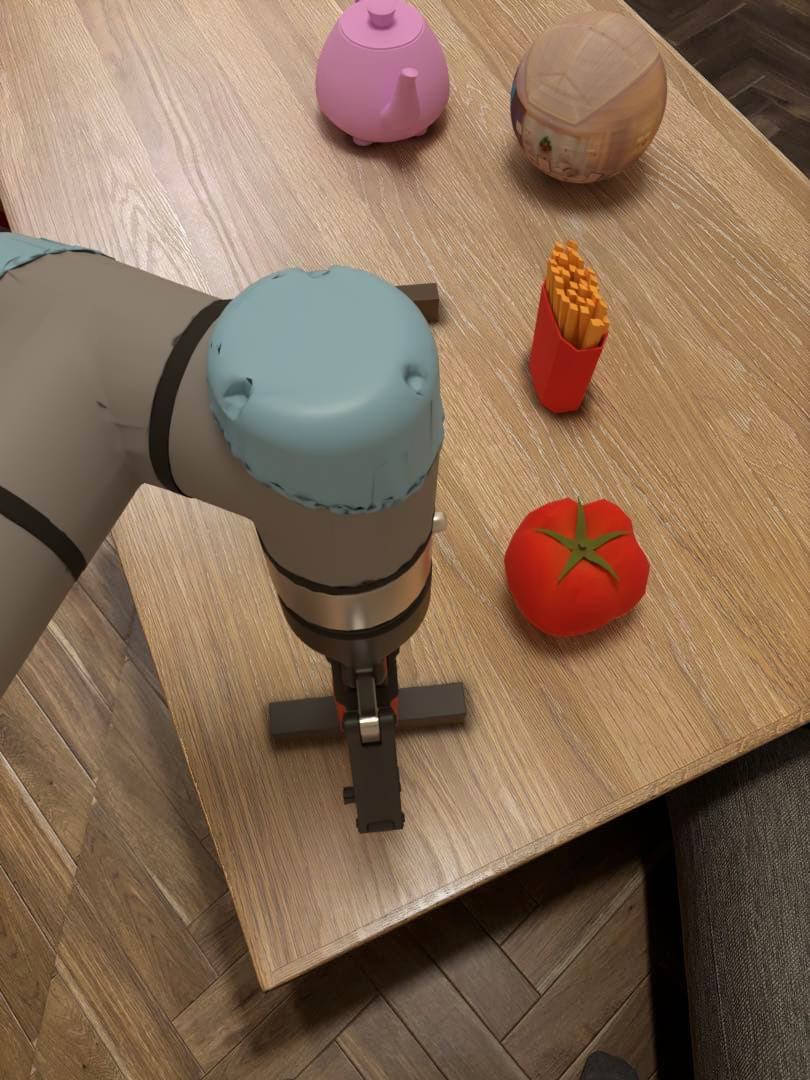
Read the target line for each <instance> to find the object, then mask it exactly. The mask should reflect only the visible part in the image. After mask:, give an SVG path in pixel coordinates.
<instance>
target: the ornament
mask: <svg viewBox="0 0 810 1080" xmlns="http://www.w3.org/2000/svg"><path fill="white" fill-rule="evenodd" d="M511 84H512V85H511V89H510V96H509V97H510V99H509V111H510V120H511V125H512V129H513V134H514V136H515V138H516V141H517V143H518V145H519V147H520V149H521V150H522V152H523V154H524V155H525V156H526V158H527V159H528V160H529V161H530V162H531V163H532V164H533V165H534V166H535V167H536V168H537V169H538V170H540V171H541V172H543V173H544V174H546V175H547V176H549V177H552V178H554V179H557V180H559V181H562V182H565V183H566V182H567V183H570V184H571V183H572V184H590V183H597V182H601V181H604V180H607V179H610V178H612V177H614V176H616V175H618V174H619V175H620V174H621V173H622V172H623V171H624V170H626V169H628V168H629V167H631V166H632V165H633V164H634V163H635V162H636V161H637V160H638V159H639V158H641V157H642V155H643V154H644V153H645V152H646V151H647V149H648V148H649V147H650V145H651V144H652V142H653V140H654V138H655V137H656V135H657V133H658V131H659V129H660V127H661V124H662V121H663V118H664V115H665V111H666V107H667V99H668V80H667V72H666V67H665V63H664V60H663V57H662V55H661V52H660V50H659V48H658V46H657V44H656V43H655V42H654V40H653V39H652V37H651V36H650V35H649V34H648V33H647V31H646V30H645V29H643V28H642V27H641V25H639V24H638V23H637V22H635V21H633V20H632V19H630V18H628V17H626V16H625V15H621V14H619V13H616V12H613V11H609V10H586V11H580V12H576V13H572V14H569V15H568V16H565V17H563V18H561V19H559V20H557V21H555V22H554V23H552V24H551V25H549V26H548V27H546V28H545V29H544V30H543V31H542V32H541V33H540V34H539V35H538V36H537V37H536V38H535V39H533V42H532V43H531V44H530V45H529V47H528V48H527V50H526V51H525V52H524V53H523V56H522V57H521V60H520V61H519V64H518V66H517V68H516V71H515V73H514V77H513V80H512V83H511Z"/></svg>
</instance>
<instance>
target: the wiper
mask: <svg viewBox="0 0 810 1080" xmlns="http://www.w3.org/2000/svg"><path fill="white" fill-rule="evenodd" d="M385 665H386V674H387V663H386V657H385ZM330 669H331V670H332V668H331V667H330ZM331 679H332V680H331V681H332V693H333V695H328V696H318V697H309V698H299V699H290V700H281V701H272V702H269V704H268V707H269V731H270V736H271V738H272V740H273V742H274V743H275V744H281V743H290V742H299V741H308V740H317V739H328V738H335V737H344V736H345V732H344V730H342V725H341V720H343V718H342V716H344V715H343V713H344V712H345V711H346V708H345V706H344V705H341V704H339V703H338V702H337V701H336V699H335V692H334V684H333V676H332V675H331ZM391 707H393V710H394V712H395V714H396V715H397V724H396V727H395V731H399V730H409V729H419V728H426V727H437V726H445V725H454V724H462V723H465V722H466V717H467V713H468V711H467V705H466V699H465V692H464V686H463V682H462V681H459V682H449V683H440V684H431V685H430V684H429V685H422V686H412V687H404V688H403V687H402V688H399V694H398V696H397V697H396V698H395V699H393V700H392V701H391ZM345 737H346V736H345Z"/></svg>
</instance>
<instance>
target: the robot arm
mask: <svg viewBox="0 0 810 1080" xmlns="http://www.w3.org/2000/svg"><path fill="white" fill-rule="evenodd" d="M395 286H396V285H394V284H392V283H390V282H389V281H387V280H386V279H384V278H382V277H380V276H378V275H376V274H373V273H371V272H369V271H366V270H364V269H359V268H355V267H352V266H345V265H340V264H332V265H330V266H329V267H328V269H323V270H321V269H320V270H311V271H309V270H307V271H306V270H303V269H302V268H301V267H300V266H298V267H290V268H289V267H288V268H285V269H281V270H278V271H276V272H272V273H270V274H268V275H266V276H264V277H261V278H260V279H257V281H255V282H252V283H251V284H250V285H248V286H246V287H245V288H244V289H243V290H242V291H241V292H239V293H238V294H237V295H236V296H235V297H234V298H232V299H233V300H225V299H223V298H220V297H218V296H214V295H211V294H210V293H206V292H203V291H200V290H198V289H194V288H193V287H189V286H186V285H184V284H181V283H178V282H176V281H173V280H171V279H167V278H165V277H162V276H159V275H157V274H154V273H152V272H149V271H147V270H143V269H141V268H138V267H135V266H132V265H130V264H127V263H125V262H122V261H119V260H117V259H115V257H113V256H110V255H107V254H105V253H104V252H102V251H100V250H97V249H94V248H90V247H84V246H81V245H71V244H67V243H63V242H60V241H56V240H52V239H48V238H45V237H34V236H31V235H26V234H21V233H18V232H17V233H16V232H10V231H5V232H4V231H1V232H0V701H1V700H2V698H3V697H4V695H5V693H6V692H7V690H8V689H9V687H10V686H11V684H12V682H13V680H15V678H16V676H17V675H18V673H19V671H20V670H21V668H22V667H23V666H24V663H25V662H26V660H27V659H28V658H29V655H30V654H31V652H33V650H34V648H35V646H36V645H37V643H38V641H39V640H40V638H41V637H42V635H43V634H44V632H45V630H46V629H47V628H48V626H49V624H50V622H51V621H52V619H53V618H54V617H55V615H56V613H57V612H58V610H59V608H60V607H61V605H62V604H63V602H64V600H65V599H66V598H67V596H68V594H69V592H70V591H71V589H72V588H73V586H74V585H75V584H76V583H77V581H78V580H79V579H80V577H81V575H83V574H82V573H83V572H84V571H85V570H86V569H87V567H88V566H89V564H90V563H91V561H92V560H93V558H94V557H95V555H96V554H97V553H98V551H99V549H100V547H101V546H102V545H103V543H104V542H105V540H106V539H107V537H108V535H109V534H110V532H111V531H112V529H113V528H114V526H115V525H116V523H117V522H118V520H119V519H120V517H121V516H122V514H123V513H124V511H125V509H126V508H127V506H129V504H130V502H131V501H132V499H133V498H134V496H135V494H136V493H137V491H138V490H139V489H140V488H141V486H142V485H144V484H146V485H149V486H153V487H155V488H160V489H163V490H166V491H168V492H171V493H174V494H177V495H179V496H182V497H185V498H188V499H195V500H197V501H201V502H203V503H206V504H209V505H212V506H214V507H217V508H218V509H219V508H220V509H222V510H225V511H228V512H230V513H233V514H235V515H238V516H240V517H243V518H246V519H247V520H250V521H251V522H252V523H253V525H254V529H255V532H256V535H257V538H258V543H259V544H260V549H261V551H262V555H263V557H264V562H265V565H266V567H267V571H268V574H269V577H270V580H271V582H272V585H273V588H274V590H275V592H276V596H277V598H278V601H279V604H280V608H281V610H282V613H283V616H284V619H285V621H286V622H287V624H288V627H289V628H290V629H291V631H292V632H293V634H294V635H295V636H296V637H297V638H298V639H299V640H300V641H301V642H302V643H303V644H304V645H305V646H307V647H308V648H309V649H311V650H313V651H315V652H317V654H321V656H324V657H325V661H326V662H328V663H329V664H330V669H331V668H332V669H331V677H332V676H333V682H332V685H333V684H334V692H335V699H336V701H337V702H338V703H339V704H341V705H344V706H345V708H346V711H345V712H344V713H343V715H344V716H342V718H343V720H341V725H342V730H344V732H345V740H346V746H347V751H348V752H347V753H348V758H349V759H348V760H349V766H350V773H351V781H352V785H349V786H342V800H343V805H344V806H345V805H354V804H355V810H356V818H355V828H357V832H358V834H359V835H365V834H374V833H375V834H376V833H383V832H391V831H392V832H393V831H397V830H403V829H404V828H405V823H406V816H405V815H406V814H405V812H403V810H402V798H401V792H402V784H401V777H400V776H401V775H400V769H399V764H398V753H397V740H396V730H395V727H396V724H397V715H396V714H395V712H394V710H393V707H391V701H392V700H393V699H395V698H396V697H397V696H398V694H399V689H400V688H399V677H398V676H399V675H398V666H397V657H398V656H399V654H400V652H401V649H400V648H401V647H402V646H403V645H404V644H405V643H407V642H408V641H409V640H410V639H411V638H412V637H413V636H414V635H415V634H416V632H417V631H418V629H419V628H420V627H421V625H422V623H423V621H424V620H425V618H426V615H427V612H428V610H429V606H430V601H431V595H432V581H433V580H432V578H433V577H432V576H433V543H434V539H433V536H434V535H433V534H440V533H442V532H444V531H446V530H447V527H448V523H449V522H448V516H447V514H446V513H445V511H444V510H436V498H437V497H436V496H437V495H436V494H437V485H438V477H439V475H438V474H439V466H440V455H441V450H442V447H443V444H444V442H445V441H444V440H445V427H444V421H445V418H446V414H445V410H444V406H443V399H442V395H441V377H440V375H441V373H440V358H439V350H438V347H437V343H436V340H435V337H434V333H433V330H432V329H431V327H430V325H429V322H427V321H426V319H425V317H424V316H423V314H422V313H421V311H420V310H419V308H418V307H417V306H416V305H415V304H414V303H413V301H411V300H410V299H409V298H408V297H407V296H406V295H405V294H404V293H403V292H402V291H401V290H399V289H398V288H397V287H395ZM385 657H386V663H387V674H386V665H385Z"/></svg>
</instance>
